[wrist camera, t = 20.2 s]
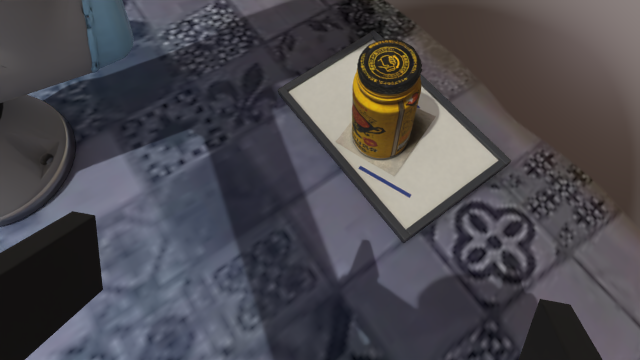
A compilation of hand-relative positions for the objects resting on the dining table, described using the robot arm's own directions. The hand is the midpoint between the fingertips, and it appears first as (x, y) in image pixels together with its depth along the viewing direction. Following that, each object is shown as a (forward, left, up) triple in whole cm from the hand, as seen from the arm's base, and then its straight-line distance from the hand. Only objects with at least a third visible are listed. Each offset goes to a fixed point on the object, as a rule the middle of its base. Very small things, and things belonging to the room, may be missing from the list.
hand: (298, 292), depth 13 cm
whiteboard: (-14, +18, -28) cm, 36 cm away
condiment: (-14, +17, -27) cm, 35 cm away
